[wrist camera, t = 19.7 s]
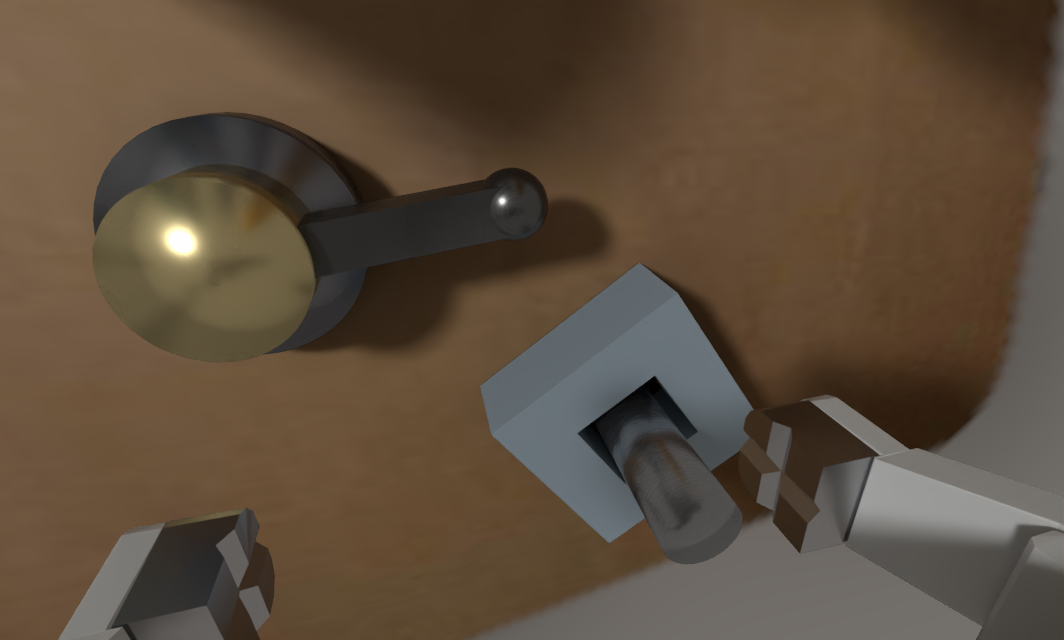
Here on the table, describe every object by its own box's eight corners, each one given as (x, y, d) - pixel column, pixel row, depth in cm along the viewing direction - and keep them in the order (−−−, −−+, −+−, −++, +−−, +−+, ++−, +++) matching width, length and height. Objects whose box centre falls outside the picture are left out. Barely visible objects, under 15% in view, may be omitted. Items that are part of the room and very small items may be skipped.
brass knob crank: (187, 339, 20) (151, 380, 17) (105, 181, 17) (49, 201, 14) (547, 261, 21) (567, 287, 19) (526, 108, 19) (545, 113, 16)
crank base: (264, 370, 23) (251, 394, 21) (65, 217, 19) (30, 231, 17) (416, 245, 22) (416, 259, 20) (241, 57, 18) (223, 54, 16)
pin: (603, 422, 29) (690, 575, 20) (568, 389, 27) (645, 539, 18) (647, 385, 28) (756, 525, 19) (614, 350, 27) (716, 484, 18)
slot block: (586, 489, 30) (609, 543, 27) (480, 385, 26) (491, 434, 22) (724, 388, 29) (767, 430, 26) (639, 262, 25) (677, 293, 21)
